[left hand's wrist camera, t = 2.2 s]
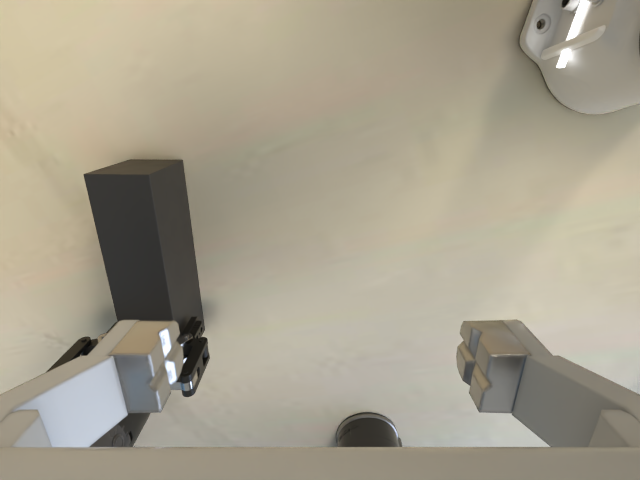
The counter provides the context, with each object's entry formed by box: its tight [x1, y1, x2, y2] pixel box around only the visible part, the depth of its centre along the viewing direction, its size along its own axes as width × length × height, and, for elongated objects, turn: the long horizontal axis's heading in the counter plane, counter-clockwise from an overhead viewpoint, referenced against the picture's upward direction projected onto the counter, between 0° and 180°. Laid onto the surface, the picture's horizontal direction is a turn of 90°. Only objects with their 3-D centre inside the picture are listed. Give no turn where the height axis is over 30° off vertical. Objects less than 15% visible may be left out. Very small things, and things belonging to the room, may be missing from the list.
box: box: [84, 160, 205, 364], centre depth 41 cm, size 23×6×9 cm, turn 0°
